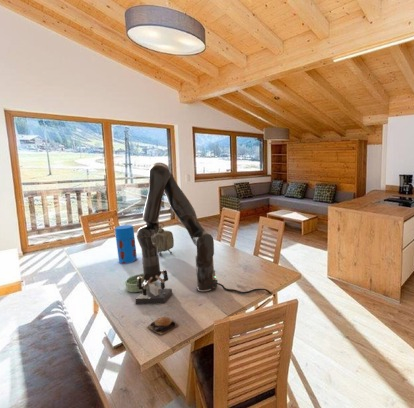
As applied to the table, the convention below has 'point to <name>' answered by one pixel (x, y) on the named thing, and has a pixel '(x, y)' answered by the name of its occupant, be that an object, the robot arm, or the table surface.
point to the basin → (135, 283)
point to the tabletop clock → (163, 240)
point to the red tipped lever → (153, 289)
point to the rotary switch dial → (154, 297)
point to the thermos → (125, 244)
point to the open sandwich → (162, 325)
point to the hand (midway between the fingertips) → (154, 292)
